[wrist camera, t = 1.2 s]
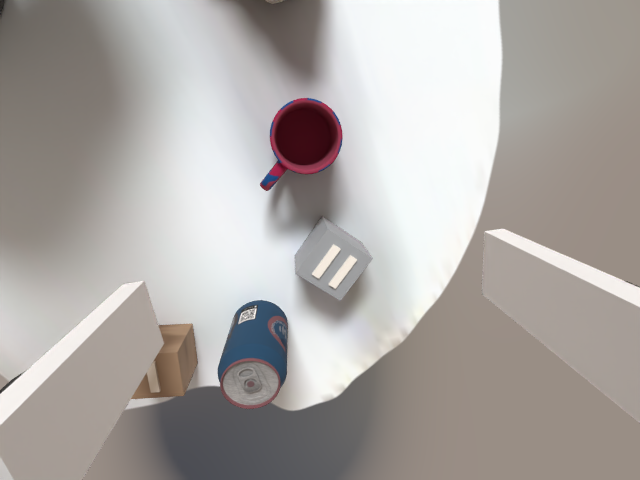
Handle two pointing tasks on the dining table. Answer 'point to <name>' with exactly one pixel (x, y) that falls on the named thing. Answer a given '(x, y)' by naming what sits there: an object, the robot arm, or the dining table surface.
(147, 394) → the walnut numbered block
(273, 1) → the ceramic sculpture
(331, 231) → the slate numbered block
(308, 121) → the mug
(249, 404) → the soda can
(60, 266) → the dining table surface
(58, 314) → the dining table surface
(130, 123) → the dining table surface
